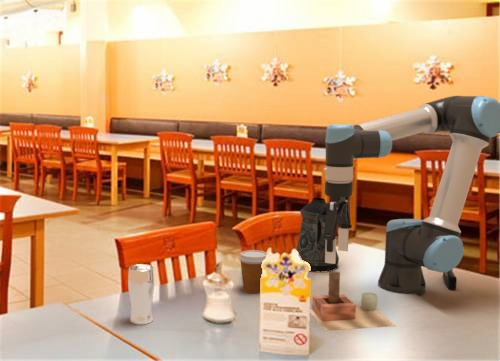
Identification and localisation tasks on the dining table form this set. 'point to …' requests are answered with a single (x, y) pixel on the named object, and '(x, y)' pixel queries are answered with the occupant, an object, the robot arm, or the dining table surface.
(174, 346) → the dining table surface
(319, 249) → the beer stein
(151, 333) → the dining table surface
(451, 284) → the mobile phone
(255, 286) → the disposable coffee cup
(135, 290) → the beer glass
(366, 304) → the loose bead
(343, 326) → the board
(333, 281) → the brown wooden cylinder
